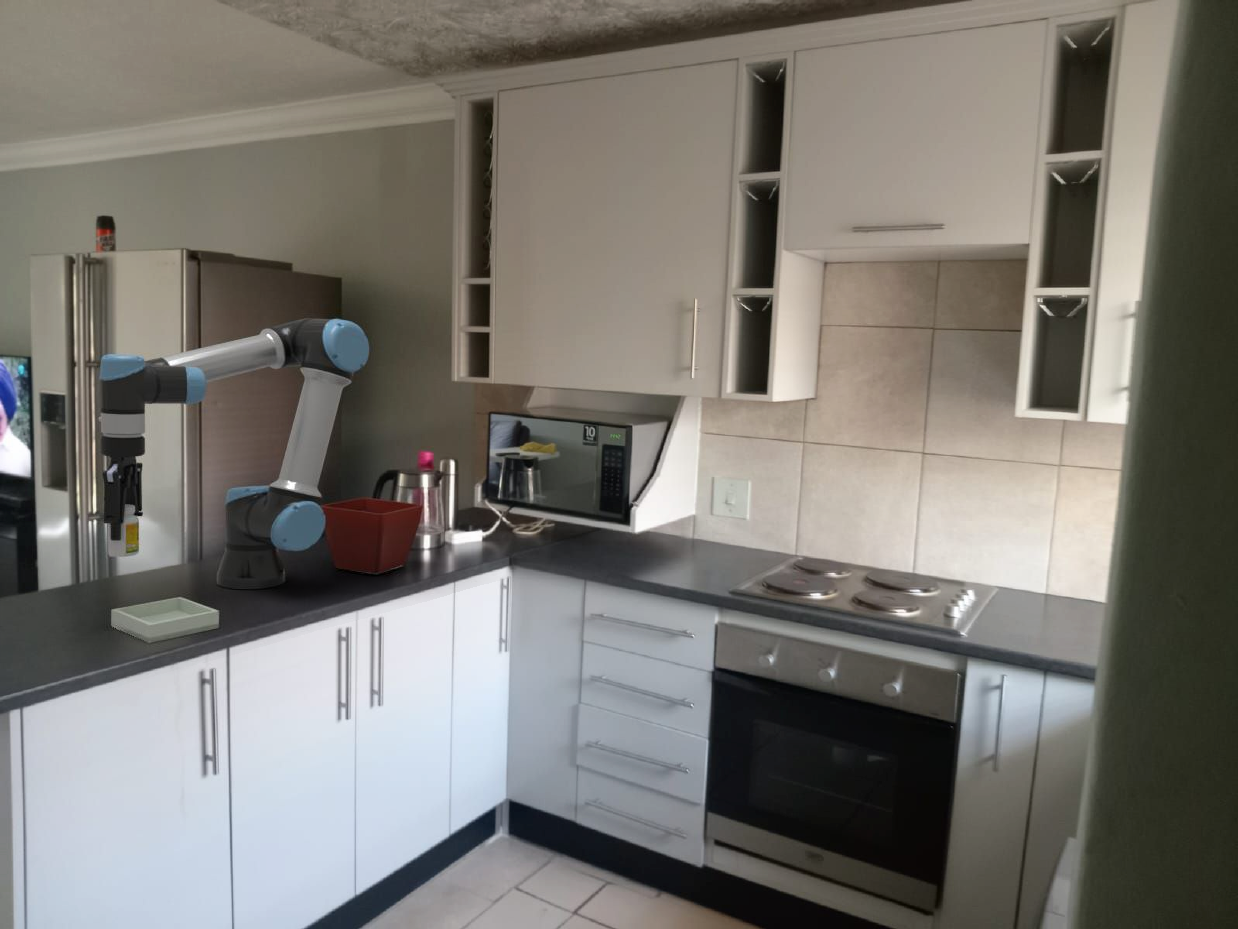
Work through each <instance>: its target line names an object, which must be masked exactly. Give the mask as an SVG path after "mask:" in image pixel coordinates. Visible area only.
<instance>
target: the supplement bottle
mask: <svg viewBox="0 0 1238 929" xmlns="http://www.w3.org/2000/svg"><path fill="white" fill-rule="evenodd" d="M134 513H135V506H134V505H129V504H125V512H124V522H123V523H126V556H125V557H124V558H126V557H133V556H136V555H137V554H139V551H140V535H139V533H140V519H139V516H135V515H133V514H134ZM107 554H108V555H109V556H110V545H109V524H107Z"/></svg>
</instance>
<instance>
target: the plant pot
mask: <svg viewBox="0 0 1238 929" xmlns="http://www.w3.org/2000/svg"><path fill="white" fill-rule="evenodd" d="M320 507H321V508H322V510H323V514H324V515H325V519H326V522H325V528H324V531H323V533H324V536H325V538H326V539H325V540H326V542H327V546H328V550H329V553H330V556H331V559H332V561H333V564H334V566H335V569H336V568H340V569H345V570H346V569H347V570H355V571H361V572H371V573H379V572H384V571H386V570H389V569H391V568H395V567H398V566H400V565H404V566H405V564H406V562H407V559H409V558H408V557H409V555H410V552H411V550H412V548H413V545H414V542H415V539H416V535H417V532H418V529H419V525H420V523H421V522H420V521H421V517H422V512H423V504H418V503H411V502H410V503H409V502H402V501H396V500H390V499H389V500H387V499H378V498H371V497H369V498H368V497H360V498H359V497H358V498H355V499H349V500H344V501H337V502H332V503H328V504H327V503H326V504H320ZM345 570H344V571H345Z"/></svg>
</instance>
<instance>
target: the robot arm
mask: <svg viewBox="0 0 1238 929" xmlns="http://www.w3.org/2000/svg"><path fill="white" fill-rule="evenodd" d="M369 354H370V344H369V340H368V338H367V336H366V334H365V331H363V329H362V328H361V327H360V326H359V325H358V324H356V322H355V323H354V322H353V321H350V320H344V319H341V318H334V319H329V318H310V317H309V318H308V317H307V318H302V319H297V320H294V321H289V322H285V323H283V324H279V325H276V326H272V327H268V328H264V329H262V330H261V331H260V333H259V334H257V335H254V336H253V335H252V336H249V337H244V338H240V339H236V340H230V341H227V342H222V343H218V344H213V345H208V346H205V347H201V348H196V349H192V350H191V349H190V350H187V351H183V352H179V353H174V354H170V355H165V356H162V357H158V358H152V359H148V360H145V358H144V357H143V356H142V355H136V354H117V353H113V354H112V353H111V354H110V353H109V354H105V355H102V357H101V359H100V365H99V377H98V378H99V384H100V385H99V386H100V390H99V391H100V392H99V393H100V416H99V417H98V422H100V432H101V433H102V434H104V435H102V436H101V437H100V453H101V455H102V456H105V457H109V458H110V461H109V465H108V469H107V470H103V472H102V479H103V523H104V524H106V525H108V524H109V545H110V555H109V558H110V557H111V558H112V557H114V558H115V557H118V558H126V557H125V556H126V523H123V522H124V512H125V504H129V505H134V506H135V513H134V514H133V515H135V516H137V517H143V515H144V512H143V489H142V488H143V487H142V486H143V485H142V482H143V480H142V474H143V466H144V465H143V463H142V462H137V457H142V456H144V455H145V454H146V437H144V435H143V434H145V433H146V404H147V405H152V404H154V405H155V404H160V405H161V404H164V405H165V404H168V405H169V404H173V405H174V404H176V405H177V404H181V405H182V404H184V405H187V404H198V403H200V402H201V401H203V400H204V398H205V396H206V393H207V391H208V390H207V388H208V387H207V386H208V383H210V382H215V381H217V380H223V379H225V378H230V377H233V376H238V375H241V374H244V373H250V372H253V371H256V370H261V369H264V368H267V367H268V368H269V367H270V368H271V369H274V370H278V369H281V368H282V369H283V368H287V367H300V368H299V369H300V372H301V373H302V375H303V376H304V382H303V385H302V387H301V388H302V389H301V392H300V396H299V400H298V403H297V409H296V412H295V416H294V420H293V423H292V428H291V431H290V434H289V438H288V441H287V447H286V449H285V453H284V457H283V461H282V464H281V468H280V469H281V470H280V471H279V472H280V473H279V476H278V478H277V480H275V481H274V482H272V483H270V484H269V485H252V486H239V487H232V488H229V489H228V490H227V493H226V496H225V502H224V506H225V535H224V536H225V540H224V541H225V542H224V544H225V546H224V553H223V556H222V558H221V561H220V563H219V568H218V570H217V572H216V584H217V586H220V587H223V588H227V589H233V590H234V589H235V590H261V589H268V588H273V587H277V586H279V585H282V584H284V583H285V581H286V571H285V570H286V569H285V568H284V564H283V561H282V558H281V555H280V553H279V549H280V550H285V551H290V552H300V551H304V550H307V549H309V548H310V547H311V546H313V545H315V544H316V543H317V542H318V541H319V540H320V539H321V536H322V535H323V533H324V528H325V522H326V519H325V515H324V514H323V510H322V508H321V507H320V506H321V502H322V493H321V492H320V491H319V489H318V485H319V483H320V477H321V474H322V470H323V468H324V467H323V466H324V461H325V459H326V456H327V450H328V447H329V442H330V438H331V435H332V431H333V427H334V424H335V419H336V416H337V412H338V408H339V403H340V400H341V396H342V392H343V389H344V388H345V387H347V386H348V385H350V384H352V381H353V378H354V373H355V372H357V371H359V370H361V369H362V368H363V367H364V366H365V365H366V363H367V362H368V359H369V356H370V355H369Z"/></svg>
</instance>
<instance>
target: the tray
mask: <svg viewBox="0 0 1238 929" xmlns="http://www.w3.org/2000/svg"><path fill="white" fill-rule="evenodd" d="M110 613H111V615H110V616H111V617H110V618H111V619H110V620H111V621H110V622H111V623H110V624H111V625H110V626H112V627H111V628H113V627H114V628H113V629H115V628H116V629H115V630H117V631H120V630H121V631H120V632H122V631H123V632H122V633H124V632H125V634H127V633H128V634H127V635H129V634H130V635H129V636H131V635H132V637H133V636H134V637H133V638H136V637H137V638H136V639H138V638H139V639H138V640H140V639H141V641H143V640H144V641H143V642H145V641H146V642H145V643H147V644H152V643H156V642H161V641H166V640H170V639H171V640H172V639H175V638H180V637H184V636H190V635H193V634H198V633H202V632H203V633H204V632H207V631H211V630H215V629H216V630H217V629H219V628H220V627H219V626H220V624H219V623H220V610H217V609H215V608H212V607H210V606H206V605H204V604H201V603H198V602H196V601H194V600H190V599H187V598H184V597H182V596H179V597H173V598H167V599H161V600H157V601H151V602H146V603H140V604H134V605H130V606H125V607H124V606H122V607H118V608H113V609H111V611H110Z"/></svg>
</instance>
